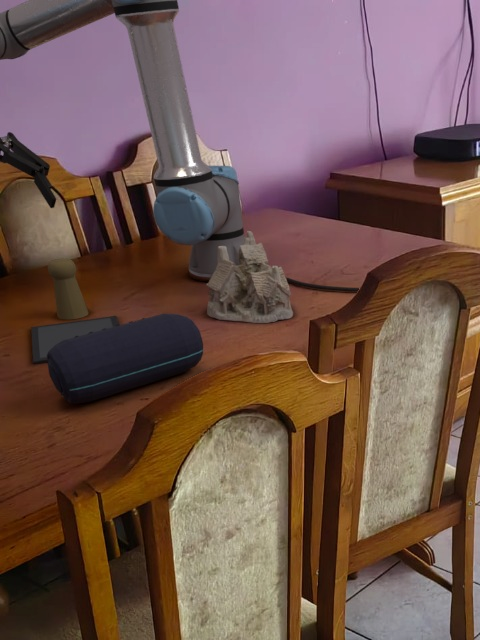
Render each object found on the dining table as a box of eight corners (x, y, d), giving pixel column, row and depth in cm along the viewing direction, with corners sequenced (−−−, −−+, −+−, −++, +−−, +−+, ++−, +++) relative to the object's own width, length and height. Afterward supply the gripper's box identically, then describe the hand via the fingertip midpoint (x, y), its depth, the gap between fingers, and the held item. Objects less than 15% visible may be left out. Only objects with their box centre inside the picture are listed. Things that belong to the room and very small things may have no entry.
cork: (61, 310, 173) (48, 256, 167) (91, 309, 173) (79, 255, 167) (54, 320, 168) (39, 264, 162) (84, 318, 168) (71, 263, 162)
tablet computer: (116, 318, 168) (115, 315, 168) (126, 350, 152) (126, 347, 152) (31, 329, 163) (31, 326, 163) (33, 364, 148) (32, 361, 147)
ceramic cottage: (202, 306, 172) (194, 231, 164) (279, 298, 178) (275, 225, 169) (219, 334, 161) (212, 255, 152) (301, 324, 166) (298, 248, 158)
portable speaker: (183, 358, 149) (173, 302, 143) (213, 373, 143) (204, 315, 137) (46, 399, 135) (29, 339, 129) (73, 418, 128) (57, 355, 123)
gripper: (22, 126, 177) (75, 210, 177) (-101, 140, 162) (-43, 233, 161) (27, 99, 171) (82, 187, 171) (-100, 112, 156) (-40, 207, 155)
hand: (21, 209), depth 166 cm, fingers open, 13 cm apart
